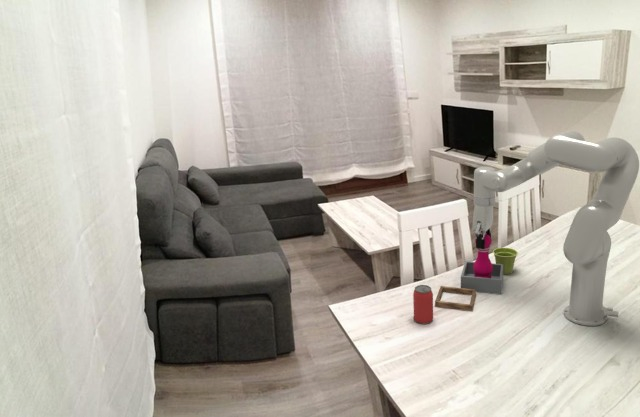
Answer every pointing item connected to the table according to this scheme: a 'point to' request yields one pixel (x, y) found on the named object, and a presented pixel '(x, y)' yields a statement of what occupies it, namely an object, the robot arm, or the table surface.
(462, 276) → the bin
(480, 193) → the robot arm
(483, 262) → the pepper mill
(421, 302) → the beer can
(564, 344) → the table surface
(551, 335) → the table surface
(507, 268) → the plant pot
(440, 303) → the brown wooden picture frame
